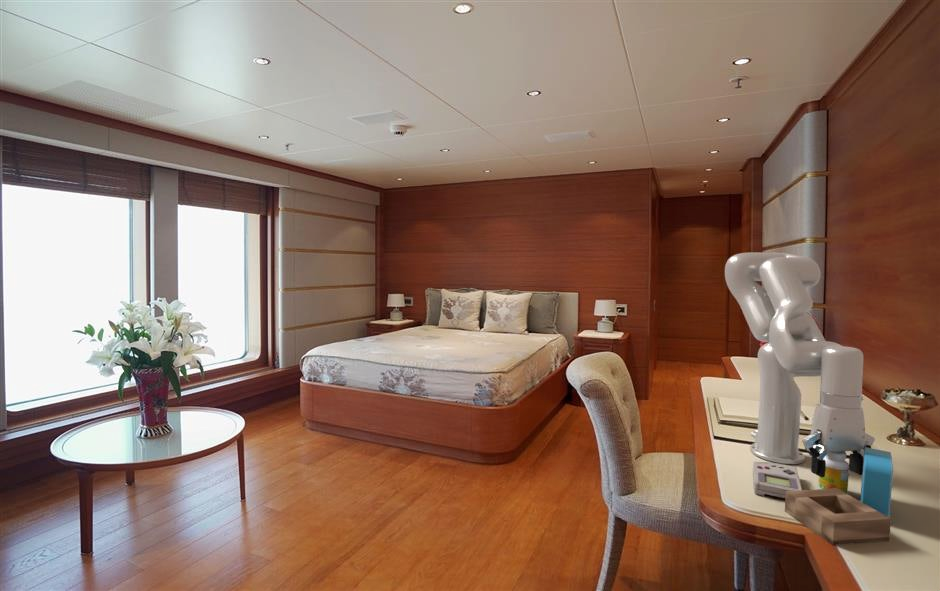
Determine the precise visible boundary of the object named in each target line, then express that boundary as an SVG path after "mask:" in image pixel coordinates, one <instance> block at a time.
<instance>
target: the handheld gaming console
mask: <svg viewBox="0 0 940 591" xmlns="http://www.w3.org/2000/svg"><path fill="white" fill-rule="evenodd" d="M752 477H753V478H752V479H753V483H752V484H753V492H754V494H755V495H758V496H763V497H764V496H765V495H769V496H771V497H772V496H773V497H778V498H782V499H785V497H786V491H799V490H803V488H802V484H801V480H800V475H799V472H798V469H797V466H793V465H789V464H783V463H777V462H772V461H753V462H752Z"/></svg>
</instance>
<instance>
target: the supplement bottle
mask: <svg viewBox="0 0 940 591" xmlns="http://www.w3.org/2000/svg"><path fill="white" fill-rule="evenodd" d="M823 460H825V461H826V466H825V477H820V476H818V488H819V489H834V488H837V489H839V490H841V491H842V492H844V493H846V494H848V488H849V476H850V475H849V474H850V470H849V462H848V461H847V451H839V452H828V453H827V454H826V456H825V457H824V458H823Z"/></svg>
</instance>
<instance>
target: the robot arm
mask: <svg viewBox="0 0 940 591" xmlns="http://www.w3.org/2000/svg"><path fill="white" fill-rule="evenodd" d="M821 275H822V274H821V269H820V266H819V265H818V263H817V262H816V261H815V260H814V259H813V258H810V257H807V256H802V255H796V254H792V253H788V252H787V253H786V252H758V251H757V252H756V251H755V252H742V253H741V252H740V253H736V254H734V255H732V256H730V257H729V258H728V259H727V261H726V263H725V266H724V279H725V283H726V286H727V288H728V290H729V291H730V293H731V295H732V296H733V298H735V300H736V301H737V303H738V304H739V307H740V309H741V310H742V311H741V312H742V314H743V316H744V318H745V321H746V322H747V326H748V327H749V329H750V331H751V333H752V336H753V337H754V338H755V339H756V340H757V341H760V342H764V344H763V345H761V346H760V348H759V349H758V352H757V363H758V364H757V365H758V369H759V404H758V417H757V418H758V419H757V420H758V421H757V428H756V429H755V430H754V431H751V432H750V434H749V435H750V436H751V437H752V438H754V442H753V443H752V444H750V447H749V448H750V450H749V451H750V452H751V453H752V455H755V456H756V457H758V458H760V459H763V460H766V461H768V462H772V463H777V464H783V465H798V464H802V463H803V462H805V458H806V457H805V454H804V453H803V452H801V451H800V450H799V443H800V441H799V439H800V428H801V427H800V425H801V409H802V392H801V389H800V387H799V386H798V385H797V382H796V381H795V379H794V378H798V377H802V378H803V377H810V378H811V377H820V389H819V390H820V391H819V393H820V394H819V403H818V404H816V406H815V408H814V413H813V417H812V422H811V429H810V434H808V435H806V436H804V437H803V438H802V439H801V441H802V443H803V446H804V450H805V451H806V452H807V453H808V455H809V456H810V457H811V461H810V462H811V467H810V472H811V473H812V474H815V475H816V476H818V477H819V476H820V477H825V466H826V461H825V460H823V458H824V457H825V456H826V454H827V453H828V452H839V451H845V452H851V453H849V459H848V461H849V462H848V464H849V472H852V473H854V474H856V475H858V476H862V472H863V459H864V448H865V447H867V448H872V446H873V444H874V442H875V441H876V440H875V437H874V436H873V435H870V434H868V433H866V422H865V414H864V409H863V408H862V401H863V400H864V397H863V377H864V376H863V373H864V353H863V352H862V351H863V350H861V349H859V348H857V347H852V346H844V345H841V344H839V343H837V342H834V341H827V340H826V339H825V338H824V335H823V333H822V332H821V330H820V328H819V326H818V324H817V322H816V321H815V319H814V318H813V317H812V316H811V314H810V313H808V312H809V311H811V309H812V308H813V304H814V303H813V299H812V298H811V296H810V293H809V292H808V290H807V289H808V288H809V289H810V288H813V287H815V286H817V285H818V283H819V282H820V280H821ZM758 282H761V283H762V284H763V286H762V285H760V284H758ZM820 449H821V450H820Z"/></svg>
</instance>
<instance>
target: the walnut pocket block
mask: <svg viewBox="0 0 940 591" xmlns="http://www.w3.org/2000/svg"><path fill="white" fill-rule="evenodd" d="M784 499H785V500H784V512H785V513H786V514H788V515H789V516H791V517H792V518H794V519H795V520H796V521H797V522H798V523H799V522H800V523H801V524H802V525H803V526H805V527H806V528H808V529H809V530H811V531H812V532H813V533H815V534H816V535H818V536H819V537H821V538H822V539H823V540H824V541H826V542H828V543H829V544H831V545H833V546H836V545H837V546H839V545H851V544H861V543H862V544H865V543H877V542H889V541H890V535H891V522H892V518H891V517H890V516H889V517H887V516H885V515H884V514H882V513H880V512H878V511H876V510H875V509H873V508H871V507H869V506H867V505H866V504H864V503H862V502H861V500H858V499H856V498H854V497H853V496H851V495H850V494H848V493H847V494H846V493H844V492H842V491H841V490H839V489H837V488H834V489H802V490H799V491H786V497H785V498H784Z"/></svg>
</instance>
